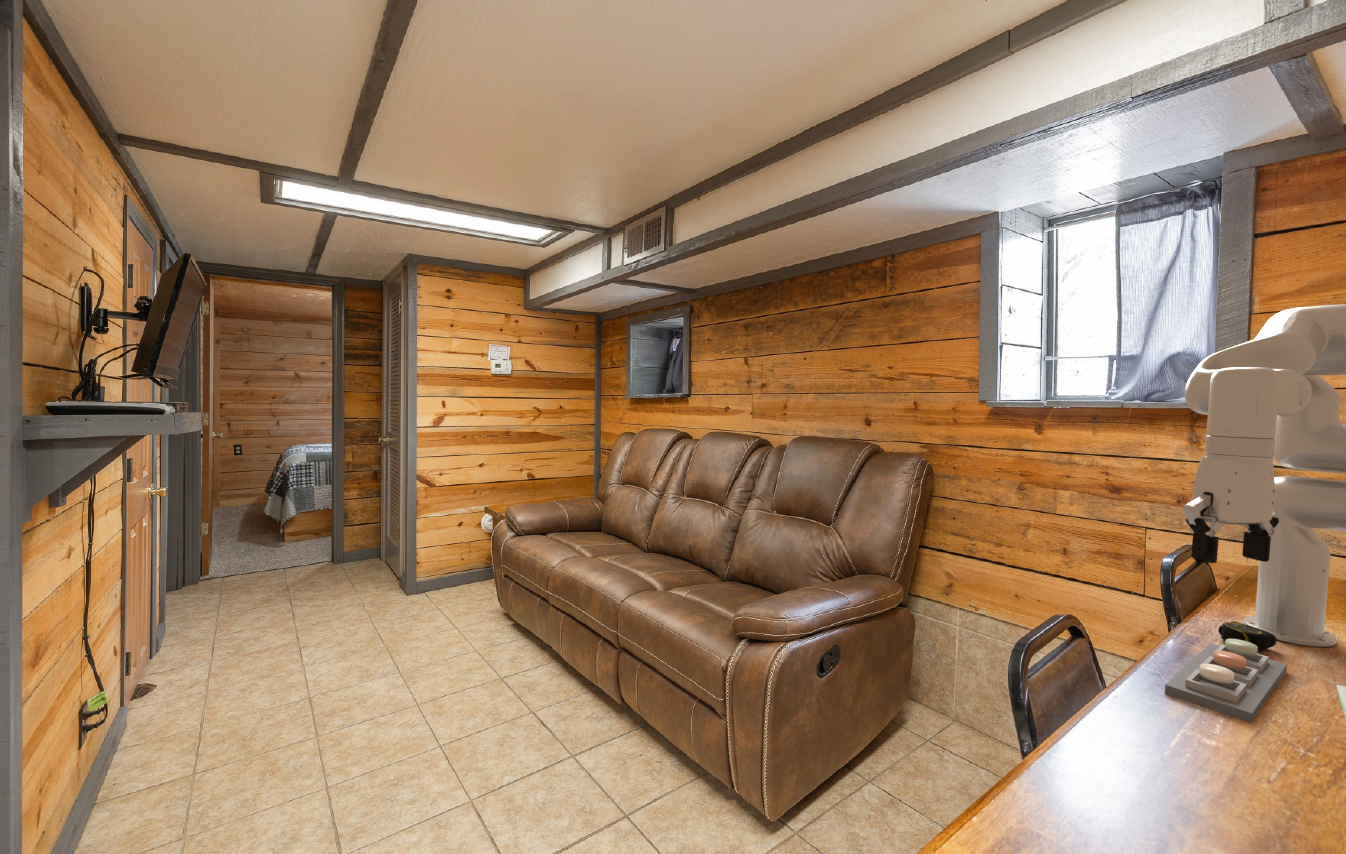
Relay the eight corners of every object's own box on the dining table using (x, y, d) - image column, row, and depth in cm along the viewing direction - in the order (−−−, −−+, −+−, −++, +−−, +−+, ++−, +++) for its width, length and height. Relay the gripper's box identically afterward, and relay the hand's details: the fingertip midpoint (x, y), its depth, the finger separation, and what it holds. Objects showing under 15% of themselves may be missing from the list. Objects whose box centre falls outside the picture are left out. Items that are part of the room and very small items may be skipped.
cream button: (1203, 668, 95) (1203, 661, 94) (1236, 678, 91) (1237, 670, 91) (1196, 675, 92) (1196, 668, 92) (1230, 685, 89) (1230, 678, 89)
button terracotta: (1216, 655, 99) (1216, 648, 99) (1248, 664, 96) (1249, 657, 96) (1209, 661, 97) (1210, 654, 97) (1242, 671, 94) (1243, 663, 94)
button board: (1209, 651, 108) (1210, 637, 108) (1286, 672, 100) (1287, 657, 100) (1164, 693, 93) (1165, 677, 93) (1251, 722, 85) (1252, 705, 85)
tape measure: (1277, 651, 108) (1279, 632, 108) (1254, 656, 106) (1256, 637, 106) (1233, 636, 115) (1234, 618, 115) (1210, 641, 113) (1211, 622, 113)
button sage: (1228, 643, 104) (1228, 636, 104) (1259, 651, 101) (1260, 644, 100) (1222, 649, 101) (1222, 642, 101) (1254, 657, 98) (1254, 650, 98)
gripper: (1255, 447, 93) (1247, 552, 94) (1166, 446, 90) (1158, 554, 91) (1314, 452, 86) (1304, 565, 87) (1219, 450, 83) (1210, 568, 84)
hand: (1229, 559), depth 89 cm, fingers open, 9 cm apart
